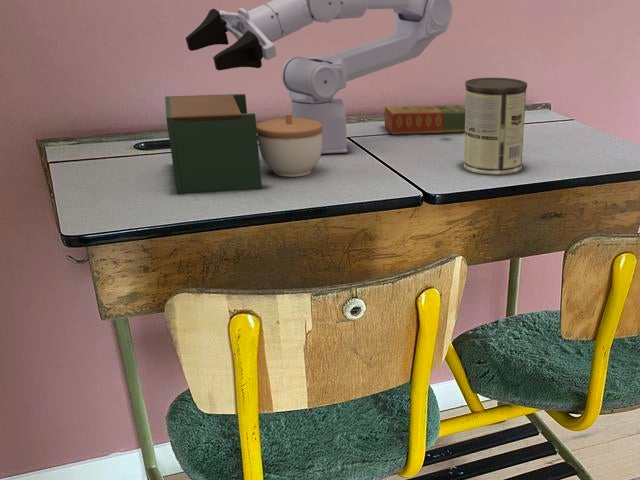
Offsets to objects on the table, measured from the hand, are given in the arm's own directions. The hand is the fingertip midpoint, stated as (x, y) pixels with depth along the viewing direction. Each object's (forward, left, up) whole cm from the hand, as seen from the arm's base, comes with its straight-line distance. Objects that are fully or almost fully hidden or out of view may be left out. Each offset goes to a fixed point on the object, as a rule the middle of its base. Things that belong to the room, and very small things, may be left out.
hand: (201, 54), depth 130 cm
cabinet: (0, +6, -18) cm, 19 cm away
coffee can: (-46, +11, -18) cm, 51 cm away
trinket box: (-12, +6, -18) cm, 23 cm away
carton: (-43, -20, -18) cm, 51 cm away
